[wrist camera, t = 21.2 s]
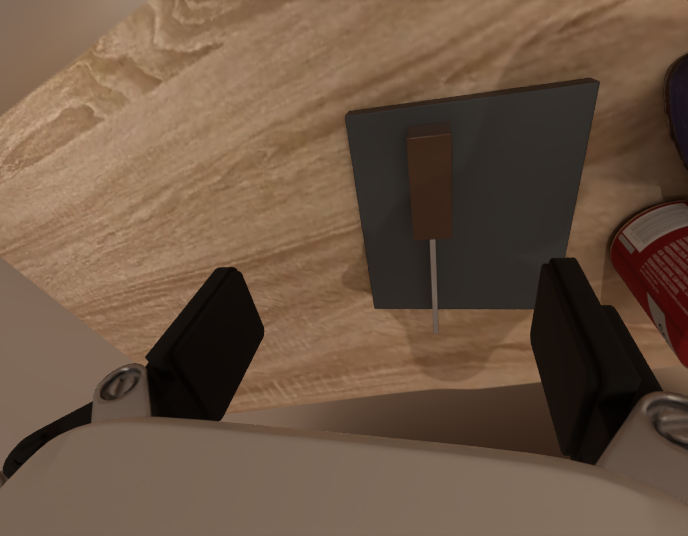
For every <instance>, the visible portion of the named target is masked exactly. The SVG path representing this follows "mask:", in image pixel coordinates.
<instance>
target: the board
mask: <svg viewBox="0 0 688 536" xmlns="http://www.w3.org/2000/svg"><path fill="white" fill-rule="evenodd" d="M599 84H600V82H599V81H597V80H595V79H592V78H586V79H579V80H571V81H564V82H557V83H550V84H542V85H535V86H528V87H521V88H513V89H506V90H499V91H492V92H484V93H477V94H470V95H463V96H455V97H448V98H441V99H434V100H426V101H419V102H412V103H405V104H397V105H390V106H383V107H376V108H369V109H361V110H354V111H349V112H348V113H347V114H346V115H345V121H346V127H347V134H348V140H349V147H350V153H351V160H352V166H353V173H354V179H355V185H356V192H357V198H358V205H359V211H360V218H361V224H362V231H363V237H364V244H365V250H366V257H367V263H368V270H369V276H370V283H371V289H372V296H373V302H374V308H375V309H433V308H432V285H431V262H430V239H429V240H413V228H412V213H411V199H410V185H409V171H408V157H407V143H406V138H407V133H408V128H409V126H412V125H420V124H428V123H436V122H444V121H450V126H451V132H452V238H451V239H436V259H437V290H438V309H534V308H535V301H536V295H537V289H538V283H539V277H540V271H541V266H542V264H544V263H549V261H550V259H551V258H565V255H566V250H567V245H568V240H569V235H570V230H571V225H572V220H573V215H574V210H575V205H576V200H577V195H578V190H579V185H580V180H581V175H582V170H583V165H584V159H585V154H586V149H587V144H588V139H589V134H590V129H591V124H592V119H593V114H594V109H595V104H596V99H597V94H598V89H599Z"/></svg>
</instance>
